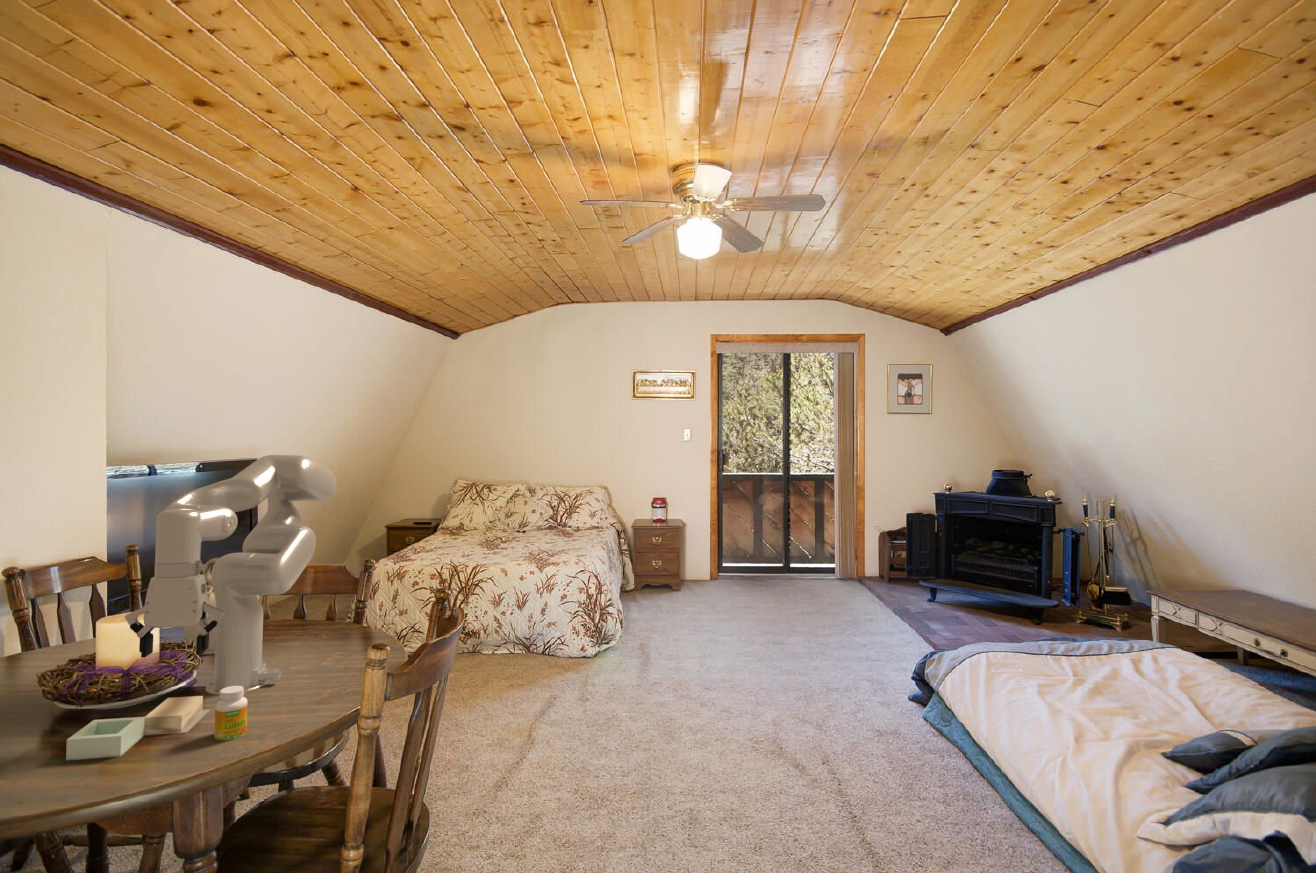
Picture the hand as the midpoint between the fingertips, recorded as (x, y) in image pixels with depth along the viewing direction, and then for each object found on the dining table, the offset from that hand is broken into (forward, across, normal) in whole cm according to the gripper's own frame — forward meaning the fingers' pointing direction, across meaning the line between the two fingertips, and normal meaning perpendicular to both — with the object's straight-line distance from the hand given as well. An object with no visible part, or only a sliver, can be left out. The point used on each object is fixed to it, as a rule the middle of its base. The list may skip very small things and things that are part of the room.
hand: (174, 654), depth 136 cm
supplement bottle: (+15, -13, +7) cm, 21 cm away
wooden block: (+14, 0, -1) cm, 14 cm away
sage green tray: (+15, +7, +9) cm, 19 cm away
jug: (+14, +11, -53) cm, 56 cm away
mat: (+15, 0, -1) cm, 15 cm away
